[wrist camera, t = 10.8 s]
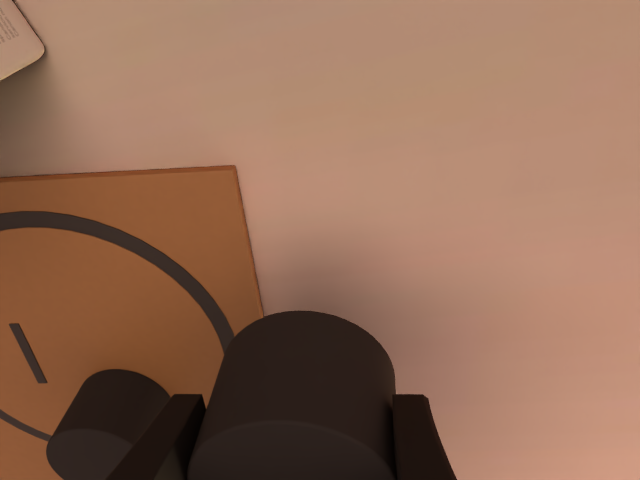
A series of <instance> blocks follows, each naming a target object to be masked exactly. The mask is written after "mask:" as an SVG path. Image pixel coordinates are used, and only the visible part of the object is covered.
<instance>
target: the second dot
mask: <svg viewBox="0 0 640 480" xmlns="http://www.w3.org/2000/svg"><path fill="white" fill-rule="evenodd" d="M392 394H396V389H395V374H394V369H393V365H392V362H391V360H390V358H389V356H388V354H387V353H386V351H385V350H384V348H383V347H382V346H381V344H380V343H379V342H378V341H377V340H376V339H375V338H374V337H373V336H372V335H370V334H369V333H368V332H367V331H365V330H364V329H362V328H361V327H359V326H357V325H356V324H354V323H352V322H350V321H347V320H345V319H342V318H340V317H337V316H334V315H330V314H326V313H320V312H313V311H288V312H282V313H276V314H272V315H269V316H266V317H263V318H261V319H259V320H256V321H254V322H253V323H251V324H249V325H248V326H246V327H245V328H244V329H242V330H241V331H240V332H239V333H238V334H237V335H236V336H235V337H234V338H233V339H232V341H231V342H230V344H229V345H228V347H227V349H226V352H225V354H224V357H223V360H222V363H221V366H220V369H219V372H218V375H217V378H216V381H215V384H214V387H213V391H212V394H211V397H210V400H209V403H208V406H207V409H206V412H205V415H204V418H203V421H202V424H201V427H200V430H199V434H198V437H197V440H196V443H195V446H194V449H193V452H192V455H191V458H190V461H189V464H188V470H187V480H397V473H396V464H395V455H394V434H393V402H392Z"/></svg>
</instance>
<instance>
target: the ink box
mask: <svg viewBox="0 0 640 480" xmlns="http://www.w3.org/2000/svg"><path fill="white" fill-rule="evenodd" d="M43 53H44V46H43V44H42V42H41V41H40V39H39V38H38V37H37V35H36V34H35V32H34V31H33V30H32V28H31V27H30V25H29V24H28V22H27V21H26V19H25V18H24V17H23V15H22V14H21V12H20V11H19V10H18V8H17V7H16V5H15V4H14V2H13V1H12V0H0V81H1V80H2V79H4V78H6V77H8V76H9V75H11V74H13V73H15V72H17V71H18V70H20V69H22V68H24V67H26V66H27V65H29V64H31V63H33V62H34V61H36V60H38V59H39V58H40V57H41V56H42V55H43Z"/></svg>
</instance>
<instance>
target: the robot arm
mask: <svg viewBox="0 0 640 480" xmlns="http://www.w3.org/2000/svg"><path fill="white" fill-rule="evenodd" d="M392 402H393V434H394V455H395V464H396V473H397V480H457V479H456V476H455V474H454V472H453V470H452V468H451V465H450V463H449V461H448V458H447V456H446V453H445V451H444V448H443V445H442V443H441V440H440V438H439V435H438V432H437V429H436V426H435V423H434V420H433V416H432V413H431V409H430V405H429V400H428V398H427V397H425V396H424V395H414V394H392ZM205 412H206V407H205V403H204V399H203V396H202V394H174V395H173V396H172V397H171V398H170V399H169V400H168V401H167V403H166V404H165V405H164V407H163V408H162V409H161V410H160V412H159V413H158V414H157V416H156V417H155V418H154V420H153V421H152V422H151V423H150V425H149V426H148V427H147V428H146V430H145V431H144V432H143V434H142V435H141V436H140V437H139V439H138V440H137V441H136V442H135V444H134V445H133V446H132V447H131V449H130V450H129V451H128V452H127V454H126V455H125V456H124V457H123V458H122V460H121V461H120V462H119V463H118V464H117V466H116V467H115V468H114V469H113V470H112V472H111V473H110V474H109V475H108V476H107V478H106V479H105V480H187V470H188V464H189V461H190V458H191V455H192V452H193V449H194V446H195V443H196V440H197V437H198V434H199V430H200V427H201V424H202V421H203V418H204V415H205Z"/></svg>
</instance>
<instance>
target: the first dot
mask: <svg viewBox="0 0 640 480" xmlns="http://www.w3.org/2000/svg"><path fill="white" fill-rule="evenodd" d="M170 398H171V397H170V396H169V394H168V393H167V392H166V391H165V390H164V389H163V388H162V387H161V386H160V385H159V384H158V383H156V382H155V381H153V380H152V379H150V378H148V377H146V376H144V375H141V374H139V373H136V372H132V371H128V370H121V369H109V370H103V371H100V372H97V373H95V374H93V375H91V376H90V377H88V378H87V379H86V380H85V381H84V383H83V384H82V386H81V388H80V389H79V391H78V393H77V394H76V396H75V398H74V399H73V401H72V403H71V404H70V406H69V408H68V410H67V411H66V413H65V415H64V416H63V418H62V420H61V421H60V423H59V425H58V426H57V428H56V430H55V432H54V433H53V435H52V437H51V438H50V440H49V442H48V444H47V447H46V456H47V460H48V462H49V464H50V466H51V467H52V469H53V470H54V471H55V472H56V473H57V474H58V475H59V476H60V477H61V478H62V479H63V480H105V479H106V478H107V476H108V475H109V474H110V473H111V472H112V470H113V469H114V468H115V467H116V466H117V464H118V463H119V462H120V461H121V460H122V458H123V457H124V456H125V455H126V454H127V452H128V451H129V450H130V449H131V447H132V446H133V445H134V444H135V442H136V441H137V440H138V439H139V437H140V436H141V435H142V434H143V432H144V431H145V430H146V428H147V427H148V426H149V425H150V423H151V422H152V421H153V420H154V418H155V417H156V416H157V414H158V413H159V412H160V410H161V409H162V408H163V407H164V405H165V404H166V403H167V401H168V400H169V399H170Z"/></svg>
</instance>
